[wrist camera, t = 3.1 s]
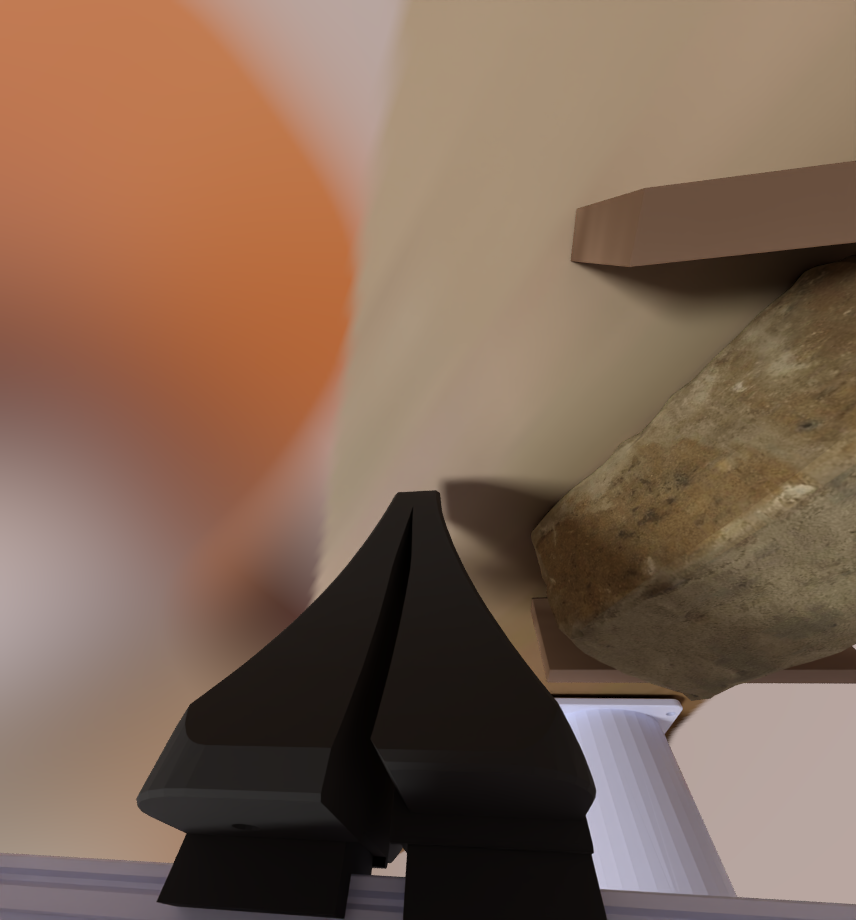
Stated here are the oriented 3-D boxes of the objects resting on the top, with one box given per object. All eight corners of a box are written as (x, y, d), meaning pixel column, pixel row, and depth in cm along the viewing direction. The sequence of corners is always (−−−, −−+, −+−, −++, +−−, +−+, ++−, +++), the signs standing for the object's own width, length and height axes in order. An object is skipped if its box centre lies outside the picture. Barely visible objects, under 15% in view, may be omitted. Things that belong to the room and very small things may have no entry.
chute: (786, 607, 14) (858, 683, 12) (530, 611, 15) (547, 682, 13) (1170, 133, 6) (1653, 58, 4) (576, 208, 7) (644, 188, 5)
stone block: (948, 356, 9) (1400, 456, 5) (618, 584, 15) (687, 720, 10) (816, 230, 8) (1279, 211, 3) (511, 535, 13) (541, 668, 9)
